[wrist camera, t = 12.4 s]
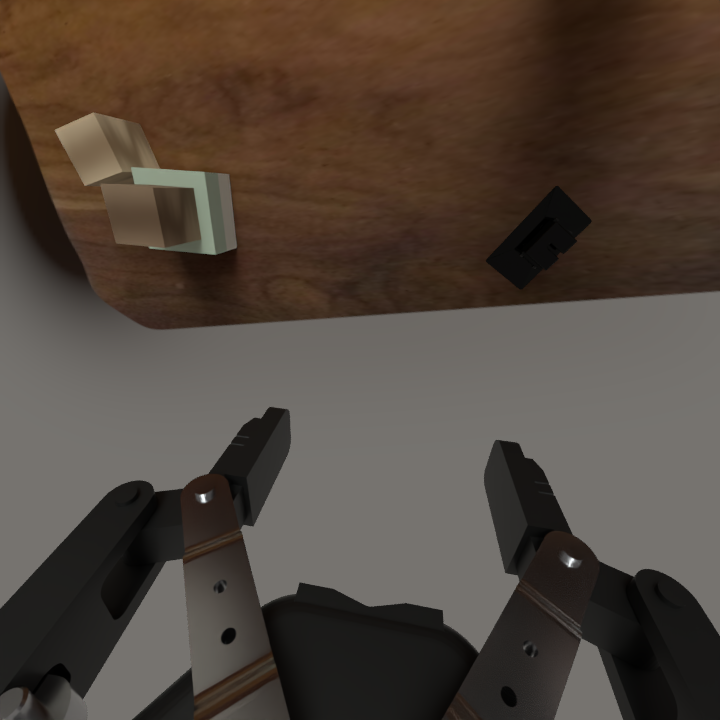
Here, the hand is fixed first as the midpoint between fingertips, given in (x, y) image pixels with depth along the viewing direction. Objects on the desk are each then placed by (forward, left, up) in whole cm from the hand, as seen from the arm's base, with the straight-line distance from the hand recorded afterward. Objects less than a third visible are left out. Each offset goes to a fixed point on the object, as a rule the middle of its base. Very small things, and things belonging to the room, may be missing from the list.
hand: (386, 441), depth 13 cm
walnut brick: (-5, -25, -25) cm, 36 cm away
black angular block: (-5, +14, -31) cm, 34 cm away
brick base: (-5, -25, -30) cm, 39 cm away
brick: (-10, -32, -30) cm, 45 cm away
